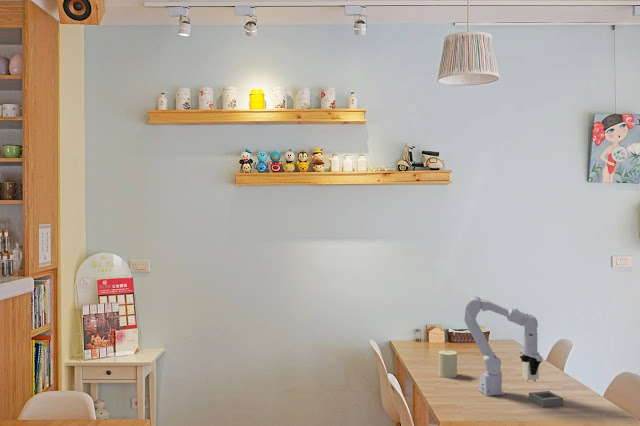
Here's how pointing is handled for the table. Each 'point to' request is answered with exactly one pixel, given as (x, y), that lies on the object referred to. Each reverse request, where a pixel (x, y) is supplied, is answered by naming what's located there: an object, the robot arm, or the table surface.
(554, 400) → the socket
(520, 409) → the table surface
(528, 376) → the plug
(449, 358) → the can
